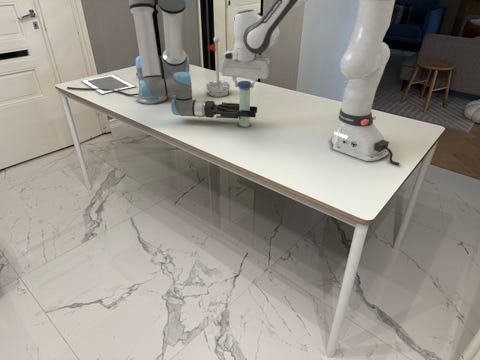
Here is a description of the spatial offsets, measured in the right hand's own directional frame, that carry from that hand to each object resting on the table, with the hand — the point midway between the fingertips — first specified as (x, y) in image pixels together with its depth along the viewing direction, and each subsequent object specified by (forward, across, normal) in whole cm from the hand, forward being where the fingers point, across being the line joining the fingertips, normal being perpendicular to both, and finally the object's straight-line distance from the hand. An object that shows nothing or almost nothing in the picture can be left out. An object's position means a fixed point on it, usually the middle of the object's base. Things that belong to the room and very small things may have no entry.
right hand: (244, 87), depth 146 cm
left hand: (+11, -5, 0) cm, 12 cm away
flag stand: (+18, +24, -39) cm, 49 cm away
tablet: (+18, +94, -40) cm, 104 cm away
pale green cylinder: (+18, 0, 0) cm, 18 cm away
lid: (-2, 0, 0) cm, 2 cm away
